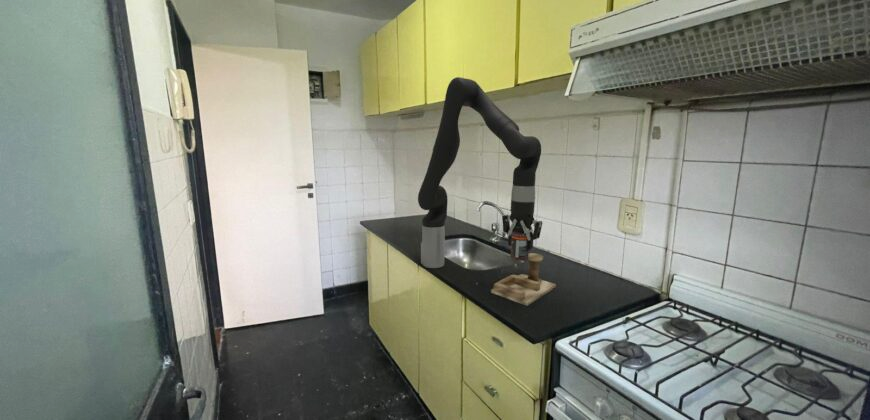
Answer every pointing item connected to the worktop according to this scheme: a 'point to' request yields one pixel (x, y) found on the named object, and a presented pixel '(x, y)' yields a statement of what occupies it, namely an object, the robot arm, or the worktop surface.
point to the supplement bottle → (519, 244)
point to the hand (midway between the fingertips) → (520, 247)
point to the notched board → (521, 289)
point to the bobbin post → (534, 266)
